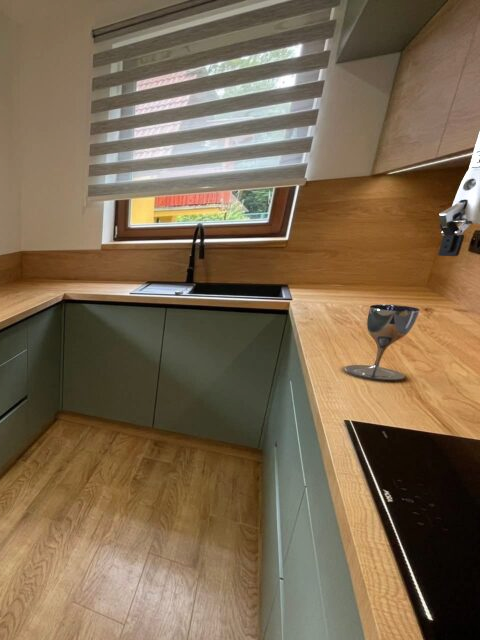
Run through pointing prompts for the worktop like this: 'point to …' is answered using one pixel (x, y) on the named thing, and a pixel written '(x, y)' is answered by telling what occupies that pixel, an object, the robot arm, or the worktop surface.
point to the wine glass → (387, 331)
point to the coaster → (395, 378)
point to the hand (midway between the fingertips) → (470, 254)
